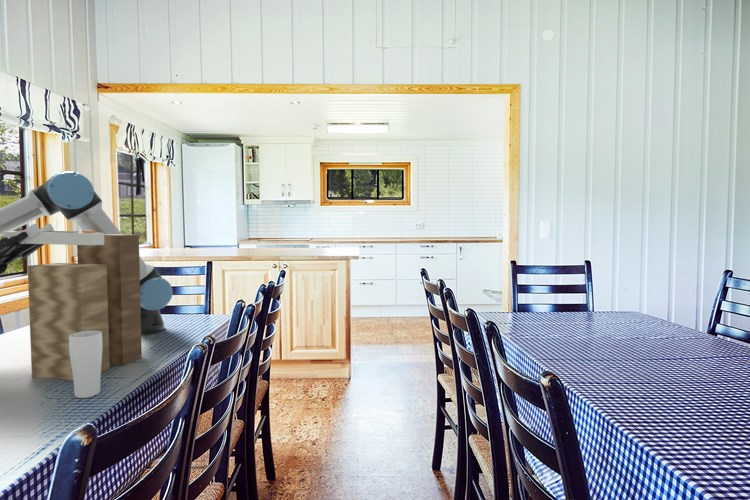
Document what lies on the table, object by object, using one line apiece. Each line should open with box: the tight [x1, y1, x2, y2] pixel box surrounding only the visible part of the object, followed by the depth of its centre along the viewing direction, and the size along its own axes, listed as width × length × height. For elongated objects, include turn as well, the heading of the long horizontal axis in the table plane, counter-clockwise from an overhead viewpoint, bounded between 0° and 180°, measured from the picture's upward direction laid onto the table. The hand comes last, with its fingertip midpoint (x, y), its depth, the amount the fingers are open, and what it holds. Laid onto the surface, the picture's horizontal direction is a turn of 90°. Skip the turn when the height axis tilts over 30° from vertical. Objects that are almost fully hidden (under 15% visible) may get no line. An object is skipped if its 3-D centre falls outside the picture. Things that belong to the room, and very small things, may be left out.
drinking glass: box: [69, 331, 103, 399], centre depth 108 cm, size 7×7×15 cm
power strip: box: [3, 229, 104, 246], centre depth 122 cm, size 28×4×4 cm, turn 80°
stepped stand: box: [27, 233, 143, 381], centre depth 129 cm, size 17×21×38 cm
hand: (44, 228), depth 123 cm, fingers closed on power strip, 4 cm apart
